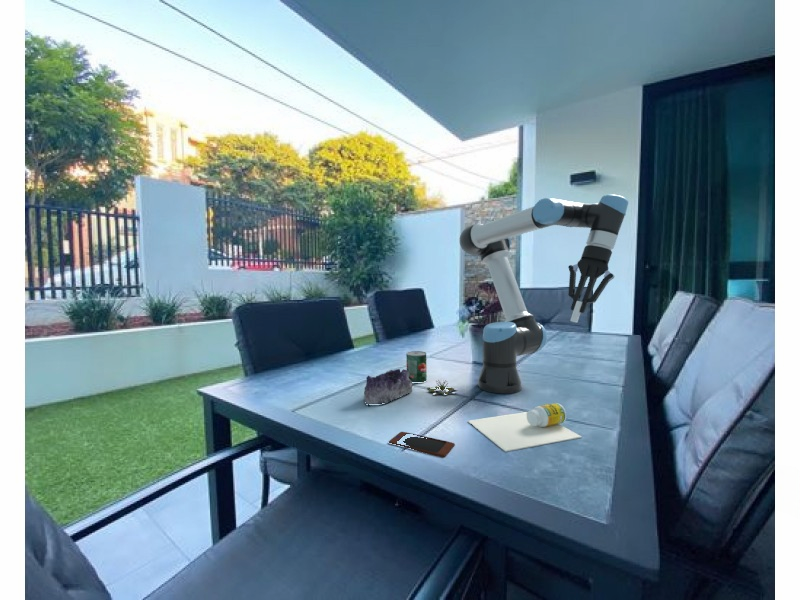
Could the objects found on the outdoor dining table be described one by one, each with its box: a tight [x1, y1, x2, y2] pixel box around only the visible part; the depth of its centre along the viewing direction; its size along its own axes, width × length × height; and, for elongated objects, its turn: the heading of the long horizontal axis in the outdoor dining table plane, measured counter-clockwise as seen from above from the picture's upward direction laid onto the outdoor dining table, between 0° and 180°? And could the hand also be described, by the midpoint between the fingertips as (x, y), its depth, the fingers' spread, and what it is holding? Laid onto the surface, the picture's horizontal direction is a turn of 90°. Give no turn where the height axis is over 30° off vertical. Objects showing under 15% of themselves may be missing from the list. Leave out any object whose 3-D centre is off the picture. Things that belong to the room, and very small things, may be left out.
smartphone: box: [388, 431, 456, 459], centre depth 86 cm, size 7×1×15 cm
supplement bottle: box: [526, 402, 567, 427], centre depth 94 cm, size 5×5×10 cm
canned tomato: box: [406, 350, 428, 382], centre depth 138 cm, size 8×8×11 cm
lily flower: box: [427, 379, 455, 396], centre depth 125 cm, size 12×12×5 cm
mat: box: [467, 411, 583, 453], centre depth 93 cm, size 22×18×1 cm
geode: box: [363, 368, 414, 405], centre depth 119 cm, size 20×12×10 cm, turn 145°
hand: (573, 321), depth 109 cm, fingers closed
